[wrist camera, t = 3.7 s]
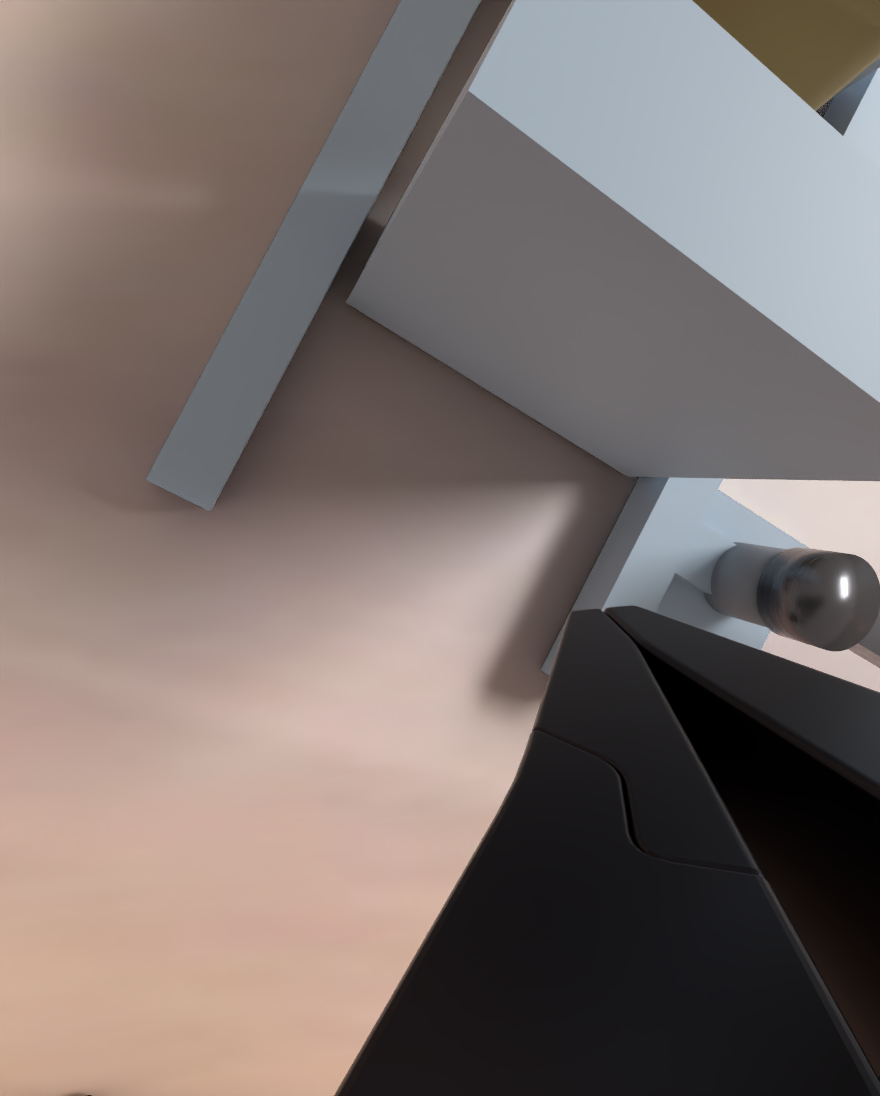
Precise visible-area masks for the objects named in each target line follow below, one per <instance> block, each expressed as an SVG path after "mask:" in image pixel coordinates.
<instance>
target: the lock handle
mask: <svg viewBox="0 0 880 1096" xmlns="http://www.w3.org/2000/svg"><path fill="white" fill-rule="evenodd" d="M757 607H758V611H759V614H760V617H761V619H762V620H763V622H764V624H765V625H766V626H767V627H768V628H769V629H770V630H771V631H772V632H774V633H776V634H778V635H780V636H783V637H787V638H790V639H793V640H796V641H800V642H803V643H806V644H809V645H812V646H816V647H819V648H822V649H825V650H829V651H842V650H846V649H849V650H850V651H852V652H854V653H855V654H857V655H859V656H860V657H862V658H864V659H866V660H867V661H869V662H871V663H872V664H874V665H876V666H877V667H879V668H880V584H879V580H878V577H877V575H876V573H875V571H874V570H873V568H872V567H871V566H870V564H869V563H868V562H866V561H865V560H864V559H862V558H860V557H858V556H856V555H852V554H845V553H838V552H831V551H824V550H816V549H809V548H802V547H796V548H790V549H787V550H785V551H782V552H781V553H779V554H778V555H776V556H775V557H774V558H773V559H772V560H771V561H770V562H769V563H768V565H767V566H766V567H765V569H764V571H763V572H762V575H761V577H760V580H759V583H758V587H757Z"/></svg>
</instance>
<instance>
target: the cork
mask: <svg viewBox="0 0 880 1096" xmlns="http://www.w3.org/2000/svg"><path fill="white" fill-rule="evenodd" d="M692 1H693V2H695V3H696V4H697V5H698V6H699V7H700V8H701V9H702V10H703V11H705V12H706V13H707V14H708V15H709V16H710V17H711V18H712V19H713V20H715V21H716V22H717V23H718V24H719V25H720V26H721V27H722V28H723V29H725V30H726V31H727V32H728V33H729V34H730V35H731V36H732V37H733V38H735V39H736V40H737V41H738V42H739V43H740V44H741V45H742V46H743V47H745V48H746V49H747V50H748V51H749V52H750V53H751V54H752V55H753V56H755V57H756V58H757V59H758V60H759V61H760V62H761V63H762V64H763V65H765V66H766V67H767V68H768V69H769V70H770V71H771V72H772V73H773V74H775V75H776V76H777V77H778V78H779V79H780V80H781V81H782V82H783V83H785V84H786V85H787V86H788V87H789V88H790V89H791V90H792V91H793V92H795V93H796V94H797V95H798V96H799V97H800V98H801V99H802V100H803V101H805V102H806V103H807V104H808V105H809V106H810V107H811V108H812V109H813V110H815V111H817V110H818V109H819V108H820V107H821V106H823V105H824V104H825V103H826V102H827V101H829V100H830V99H831V98H832V97H833V96H834V95H836V94H837V93H838V92H839V91H840V90H841V89H843V88H844V87H845V86H846V85H847V84H848V83H850V82H851V81H852V80H853V79H854V78H856V77H857V76H858V75H859V74H860V73H861V72H863V71H864V70H865V69H866V68H867V67H868V66H870V65H871V64H872V63H873V62H874V61H876V60H877V59H878V58H879V57H880V0H692Z"/></svg>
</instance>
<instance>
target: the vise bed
mask: <svg viewBox="0 0 880 1096" xmlns="http://www.w3.org/2000/svg"><path fill="white" fill-rule="evenodd" d="M481 1H482V0H401V1H400V3H399V5H398V7H397V9H396V11H395V12H394V14H393V16H392V18H391V20H390V22H389V24H388V26H387V27H386V29H385V31H384V33H383V35H382V37H381V39H380V41H379V42H378V44H377V46H376V48H375V50H374V52H373V54H372V56H371V57H370V59H369V61H368V63H367V65H366V67H365V69H364V71H363V72H362V74H361V76H360V78H359V80H358V82H357V84H356V86H355V87H354V89H353V91H352V93H351V95H350V97H349V99H348V101H347V102H346V104H345V106H344V108H343V110H342V112H341V114H340V116H339V117H338V119H337V121H336V123H335V125H334V127H333V129H332V131H331V133H330V134H329V136H328V138H327V140H326V142H325V144H324V146H323V148H322V149H321V151H320V153H319V155H318V157H317V159H316V161H315V163H314V164H313V166H312V168H311V170H310V172H309V174H308V176H307V178H306V179H305V181H304V183H303V185H302V187H301V189H300V191H299V193H298V194H297V196H296V198H295V200H294V202H293V204H292V206H291V208H290V209H289V211H288V213H287V215H286V217H285V219H284V221H283V223H282V224H281V226H280V228H279V230H278V232H277V234H276V236H275V238H274V239H273V241H272V243H271V245H270V247H269V249H268V251H267V253H266V254H265V256H264V258H263V260H262V262H261V264H260V266H259V268H258V269H257V271H256V273H255V275H254V277H253V279H252V281H251V283H250V284H249V286H248V288H247V290H246V292H245V294H244V296H243V298H242V299H241V301H240V303H239V305H238V307H237V309H236V311H235V313H234V314H233V316H232V318H231V320H230V322H229V324H228V326H227V328H226V329H225V331H224V333H223V335H222V337H221V339H220V341H219V343H218V344H217V346H216V348H215V350H214V352H213V354H212V356H211V358H210V359H209V361H208V363H207V365H206V367H205V369H204V371H203V373H202V374H201V376H200V378H199V380H198V382H197V384H196V386H195V388H194V389H193V391H192V393H191V395H190V397H189V399H188V401H187V403H186V404H185V406H184V408H183V410H182V412H181V414H180V416H179V418H178V419H177V421H176V423H175V425H174V427H173V429H172V431H171V433H170V434H169V436H168V438H167V440H166V442H165V444H164V446H163V448H162V449H161V451H160V453H159V455H158V457H157V459H156V461H155V463H154V464H153V466H152V468H151V470H150V472H149V474H148V476H147V478H146V479H145V480H147V481H149V482H151V483H153V484H155V485H157V486H159V487H161V488H163V489H165V490H167V491H169V492H171V493H173V494H175V495H177V496H179V497H181V498H183V499H185V500H187V501H189V502H191V503H193V504H195V505H197V506H199V507H201V508H204V509H206V510H208V511H211V510H212V508H213V507H214V505H215V503H216V501H217V499H218V497H219V496H220V494H221V492H222V490H223V488H224V486H225V484H226V482H227V480H228V479H229V477H230V475H231V473H232V471H233V469H234V467H235V465H236V463H237V462H238V460H239V458H240V456H241V454H242V452H243V450H244V448H245V446H246V445H247V443H248V441H249V439H250V437H251V435H252V433H253V431H254V429H255V428H256V426H257V424H258V422H259V420H260V418H261V416H262V414H263V412H264V411H265V409H266V407H267V405H268V403H269V401H270V399H271V397H272V395H273V394H274V392H275V390H276V388H277V386H278V384H279V382H280V380H281V378H282V377H283V375H284V373H285V371H286V369H287V367H288V365H289V363H290V361H291V360H292V358H293V356H294V354H295V352H296V350H297V348H298V346H299V344H300V343H301V341H302V339H303V337H304V335H305V333H306V331H307V329H308V327H309V326H310V324H311V322H312V320H313V318H314V316H315V314H316V312H317V310H318V309H319V307H320V305H321V303H322V301H323V299H324V297H325V295H326V293H327V292H328V290H329V288H330V286H331V284H332V282H333V280H334V278H335V276H336V275H337V273H338V271H339V269H340V267H341V265H342V263H343V261H344V260H345V258H346V256H347V254H348V252H349V250H350V248H351V246H352V244H353V243H354V241H355V239H356V237H357V235H358V233H359V231H360V229H361V227H362V226H363V224H364V222H365V220H366V218H367V216H368V214H369V212H370V210H371V209H372V207H373V205H374V203H375V201H376V199H377V197H378V195H379V193H380V192H381V190H382V188H383V186H384V184H385V182H386V180H387V178H388V176H389V175H390V173H391V171H392V169H393V167H394V165H395V163H396V161H397V159H398V158H399V156H400V154H401V152H402V150H403V148H404V146H405V144H406V142H407V141H408V139H409V137H410V135H411V133H412V131H413V129H414V127H415V125H416V124H417V122H418V120H419V118H420V116H421V114H422V112H423V110H424V108H425V107H426V105H427V103H428V101H429V99H430V97H431V95H432V93H433V91H434V90H435V88H436V86H437V84H438V82H439V80H440V78H441V76H442V74H443V73H444V71H445V69H446V67H447V65H448V63H449V61H450V59H451V57H452V56H453V54H454V52H455V50H456V48H457V46H458V44H459V42H460V40H461V39H462V37H463V35H464V33H465V31H466V29H467V27H468V25H469V23H470V22H471V20H472V18H473V16H474V14H475V12H476V10H477V8H478V6H479V5H480V3H481ZM823 119H825V120H826V121H827V122H828V123H829V124H830V125H831V126H832V127H833V128H835V129H836V130H837V131H838V132H839V133H840V134H841V135H842V136H843V137H845V138H846V139H847V140H848V141H849V142H850V143H851V144H852V145H853V146H855V147H856V148H857V149H858V150H859V151H860V152H861V153H862V154H863V155H865V156H866V157H867V158H868V159H869V160H870V161H871V162H872V163H873V164H875V165H876V166H877V167H878V168H879V169H880V57H879V58H878V59H877V60H876V61H874V62H873V63H872V64H871V65H870V66H868V67H867V68H866V69H865V70H864V71H863V72H861V73H860V74H859V75H858V76H857V77H856V78H854V79H853V80H852V81H851V82H850V83H848V84H847V85H846V86H845V87H844V88H843V89H841V90H840V91H839V92H838V93H837V94H836V95H834V96H833V99H832V101H831V103H830V105H829V107H828V109H827V111H826V113H825V115H824V117H823ZM722 480H723V478H668V477H639V478H638V480H637V482H636V484H635V486H634V488H633V490H632V492H631V494H630V496H629V498H628V500H627V502H626V504H625V506H624V508H623V510H622V512H621V514H620V516H619V517H618V519H617V521H616V523H615V525H614V527H613V529H612V531H611V533H610V535H609V537H608V539H607V541H606V543H605V545H604V547H603V549H602V551H601V553H600V555H599V557H598V559H597V561H596V562H595V564H594V566H593V568H592V570H591V572H590V574H589V576H588V578H587V580H586V582H585V584H584V586H583V588H582V590H581V592H580V594H579V596H578V598H577V600H576V602H575V604H574V606H573V607H572V609H571V611H574V610H585V609H596V608H597V609H600V610H602V611H604V610H605V609H606V608H609V607H618V606H629V605H633V606H638V607H641V608H644V609H647V610H650V611H652V612H655V613H658V614H661V615H664V616H666V617H669V618H672V619H675V620H678V621H680V622H683V623H686V624H689V625H692V626H694V627H697V628H700V629H703V630H706V631H708V632H711V633H714V634H717V635H720V636H723V637H725V638H728V639H731V640H734V641H737V642H739V643H742V644H745V645H748V646H751V647H753V648H756V649H759V650H761V648H762V646H763V644H764V642H765V640H766V638H767V636H768V634H769V632H770V629H769V628H768V627H767V626H766V625H765V624H764V622H763V620H762V619H761V617H760V614H759V611H758V607H757V587H758V583H759V580H760V577H761V575H762V572H763V571H764V569H765V567H766V566H767V565H768V563H769V562H770V561H771V560H772V559H773V558H774V557H775V556H776V555H778V554H779V553H781V552H782V551H785V550H787V549H790V548H796V547H802V548H808V547H807V546H805V545H804V544H802V543H800V542H799V541H797V540H796V539H794V538H793V537H791V536H790V535H788V534H786V533H785V532H783V531H782V530H780V529H779V528H777V527H776V526H774V525H772V524H771V523H769V522H768V521H766V520H765V519H763V518H762V517H760V516H758V515H757V514H755V513H754V512H752V511H751V510H749V509H748V508H746V507H744V506H743V505H741V504H740V503H738V502H737V501H735V500H734V499H732V498H730V497H729V496H727V495H726V494H724V493H723V492H721V491H720V490H718V488H719V486H720V484H721V482H722ZM809 549H810V548H809ZM571 611H570V612H571ZM566 620H567V619H566ZM565 623H566V621H565ZM565 623H564V625H563V627H562V629H561V631H560V633H559V635H558V637H557V639H556V641H555V643H554V645H553V647H552V649H551V651H550V652H549V654H548V656H547V658H546V660H545V662H544V664H543V666H542V668H541V671H543V672H544V673H546V674H547V675H550V672H551V668H552V665H553V662H554V659H555V656H556V652H557V649H558V646H559V643H560V639H561V636H562V633H563V630H564V627H565Z"/></svg>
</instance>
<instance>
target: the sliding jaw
mask: <svg viewBox="0 0 880 1096" xmlns="http://www.w3.org/2000/svg"><path fill="white" fill-rule="evenodd" d="M346 303H347V304H349V305H350V306H352V307H354V308H355V309H357V310H358V311H360V312H362V313H363V314H365V315H366V316H368V317H370V318H371V319H373V320H375V321H376V322H378V323H379V324H381V325H383V326H384V327H386V328H388V329H389V330H391V331H392V332H394V333H396V334H397V335H399V336H400V337H402V338H404V339H405V340H407V341H409V342H410V343H412V344H413V345H415V346H417V347H418V348H420V349H421V350H423V351H425V352H426V353H428V354H430V355H431V356H433V357H434V358H436V359H438V360H439V361H441V362H442V363H444V364H446V365H447V366H449V367H451V368H452V369H454V370H455V371H457V372H459V373H460V374H462V375H463V376H465V377H467V378H468V379H470V380H472V381H473V382H475V383H476V384H478V385H480V386H481V387H483V388H485V389H486V390H488V391H489V392H491V393H493V394H494V395H496V396H497V397H499V398H501V399H502V400H504V401H506V402H507V403H509V404H510V405H512V406H514V407H515V408H517V409H518V410H520V411H522V412H523V413H525V414H527V415H528V416H530V417H531V418H533V419H535V420H536V421H538V422H539V423H541V424H543V425H544V426H546V427H548V428H549V429H551V430H552V431H554V432H556V433H557V434H559V435H561V436H562V437H564V438H565V439H567V440H569V441H570V442H572V443H573V444H575V445H577V446H578V447H580V448H582V449H583V450H585V451H586V452H588V453H590V454H591V455H593V456H594V457H596V458H598V459H599V460H601V461H603V462H604V463H606V464H607V465H609V466H611V467H612V468H614V469H615V470H617V471H619V472H620V473H622V474H624V475H625V476H627V477H668V478H726V479H785V480H844V481H880V169H879V168H878V167H877V166H876V165H875V164H873V163H872V162H871V161H870V160H869V159H868V158H867V157H866V156H865V155H863V154H862V153H861V152H860V151H859V150H858V149H857V148H856V147H855V146H853V145H852V144H851V143H850V142H849V141H848V140H847V139H846V138H845V137H843V136H842V135H841V134H840V133H839V132H838V131H837V130H836V129H835V128H833V127H832V126H831V125H830V124H829V123H828V122H827V121H826V120H825V119H823V118H822V117H821V116H820V115H819V114H818V113H817V112H816V111H815V110H813V109H812V108H811V107H810V106H809V105H808V104H807V103H806V102H805V101H803V100H802V99H801V98H800V97H799V96H798V95H797V94H796V93H795V92H793V91H792V90H791V89H790V88H789V87H788V86H787V85H786V84H785V83H783V82H782V81H781V80H780V79H779V78H778V77H777V76H776V75H775V74H773V73H772V72H771V71H770V70H769V69H768V68H767V67H766V66H765V65H763V64H762V63H761V62H760V61H759V60H758V59H757V58H756V57H755V56H753V55H752V54H751V53H750V52H749V51H748V50H747V49H746V48H745V47H743V46H742V45H741V44H740V43H739V42H738V41H737V40H736V39H735V38H733V37H732V36H731V35H730V34H729V33H728V32H727V31H726V30H725V29H723V28H722V27H721V26H720V25H719V24H718V23H717V22H716V21H715V20H713V19H712V18H711V17H710V16H709V15H708V14H707V13H706V12H705V11H703V10H702V9H701V8H700V7H699V6H698V5H697V4H696V3H695V2H693V1H692V0H512V2H511V4H510V5H509V7H508V9H507V11H506V12H505V14H504V16H503V18H502V20H501V21H500V23H499V25H498V27H497V28H496V30H495V32H494V34H493V36H492V37H491V39H490V41H489V43H488V45H487V46H486V48H485V50H484V52H483V53H482V55H481V57H480V59H479V61H478V62H477V64H476V66H475V68H474V70H473V71H472V73H471V75H470V77H469V78H468V80H467V82H466V84H465V86H464V87H463V89H462V91H461V93H460V94H459V96H458V98H457V100H456V102H455V103H454V105H453V107H452V109H451V111H450V112H449V114H448V116H447V118H446V119H445V121H444V123H443V125H442V127H441V128H440V130H439V132H438V134H437V135H436V137H435V139H434V141H433V143H432V144H431V146H430V148H429V150H428V152H427V153H426V155H425V157H424V159H423V160H422V162H421V164H420V166H419V168H418V169H417V171H416V173H415V175H414V176H413V178H412V180H411V182H410V184H409V185H408V187H407V189H406V191H405V193H404V194H403V196H402V198H401V200H400V201H399V203H398V205H397V207H396V209H395V210H394V212H393V214H392V216H391V218H390V220H389V221H388V223H387V225H386V227H385V229H384V231H383V233H382V235H381V237H380V239H379V240H378V242H377V244H376V246H375V248H374V250H373V252H372V254H371V256H370V257H369V259H368V261H367V263H366V265H365V267H364V269H363V271H362V273H361V274H360V276H359V278H358V280H357V282H356V284H355V286H354V288H353V290H352V291H351V293H350V295H349V297H348V299H347V301H346Z"/></svg>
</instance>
